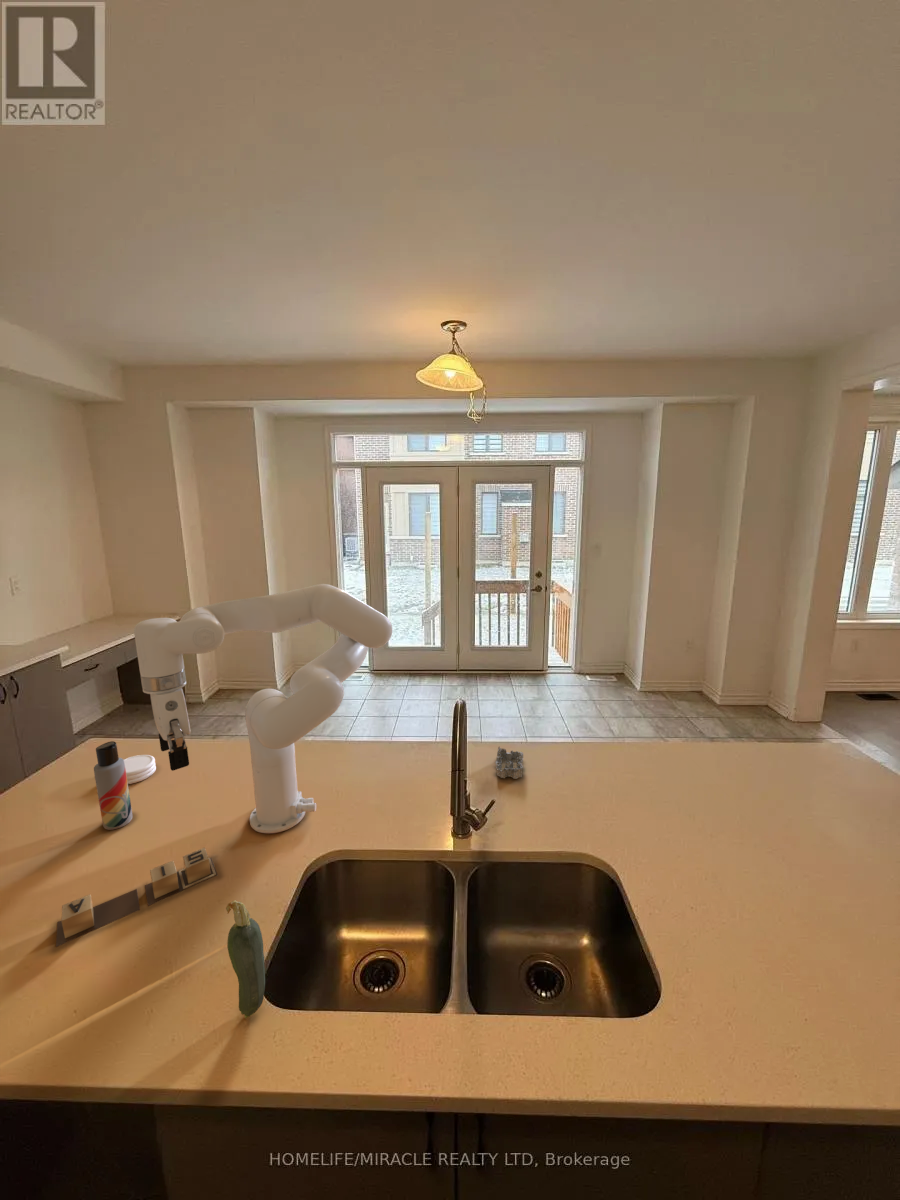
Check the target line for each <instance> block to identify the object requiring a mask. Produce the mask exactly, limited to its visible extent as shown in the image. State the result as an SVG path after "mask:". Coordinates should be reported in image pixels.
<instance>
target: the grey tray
mask: <svg viewBox="0 0 900 1200" xmlns="http://www.w3.org/2000/svg"><path fill="white" fill-rule="evenodd" d="M208 858H209V864H210V872H211V874H210V875H208V876H205V877H203V878H201V879H199V880H196V881H194V882H192V883H189V884H188V881H187V878H186V874H185V870H184V868H182V869H179V870H177V868H176V865H175V861H174V860H171V861H168V862H166V863H164V864H160V865H158V866H156V867H154V868H151V869H149V873H150V880H151V882H150V883H147V884H145V885H144V891H145V895H146V896H145V897H146V902H147V906H148V907H149V906H152V905H155V904H156V903H158V902H161V901H163V900H166V899H167V898H169V897H173V896H174V895H176V894H179V893H181V892H183V891H186V890H188V889H190V888H192V887H195V886H196V885H197V886H198V885H199V884H201V883H203V882H205V881H208V880H210V879H212V878H214V877H217V876H219V875H218V872H217V870H216V867H215V863H214V861H213V858H212V857H208Z"/></svg>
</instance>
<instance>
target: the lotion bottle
mask: <svg viewBox="0 0 900 1200" xmlns="http://www.w3.org/2000/svg"><path fill="white" fill-rule="evenodd" d="M95 753H96V759H97V763H96V764H95V765H94V766H93V774H94V781H95V785H96V793H97V798H98V803H99V809H100V816H101V822H102V826H103V828H104V829H105V830H108V831H109V830H110V831H113V830H117V829H121V828H123V827H125V826H126V825H128V824H129V823H130V822H132V820H133V808H132V802H131V797H130V790H129V789H130V788H129V784H128V782H127V776H126V769H125V763H124V758H122V757H119V752H118V745H117V742H116V741H112V740H111V741H107V742H104V743H102V744H100V745H98V746H97V747H96V748H95Z"/></svg>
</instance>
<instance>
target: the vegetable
mask: <svg viewBox="0 0 900 1200" xmlns="http://www.w3.org/2000/svg"><path fill="white" fill-rule="evenodd" d="M225 909H226V912H227V913H226V914H228V915H229V914H230V912H231V910H232V911H233V919H234V922H235V923H234V924H233V925H232V926H231V927H230V929H229V931H228V935H227V942H226V943H227V945H226V946H227V952H228V957H229V960H230V964H231V965H232V969H233V971H234V973H235V975H236V977H237V982H238V1010H239V1012H240V1014H241V1015H243V1016H244V1017H243V1018H244V1019H245V1020H246V1019H248V1018H249V1017H251V1016H253V1015H254V1014H255V1013H256V1012H257V1011H258V1010H259V1009H260V1008H261V1006H262V1004H263V1002H264V998H265V989H266V971H265V970H266V969H265V968H266V967H265V953H264V940H263V934H262V929H261V928H260V925H259V923H258V922H257V921H256V920H255V919H254V918H252V917H251V914H250V912H249V910H248V908H246V905H245V903H243V902H242V901H237V900H236V899H235V900H232V901H230V902H229V903H227V905H226V907H225Z"/></svg>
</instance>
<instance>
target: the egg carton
mask: <svg viewBox="0 0 900 1200" xmlns="http://www.w3.org/2000/svg"><path fill="white" fill-rule="evenodd" d="M495 767H496V771H497V772H496V776H497V777H499V778H500V779H506V778H508V777H510V778H513V779H515V780H517V779H519V778H522V775H523V767H524V752H522V751H518V750H516V751H513V750H510V752H507V749H506V748H501V747H500V746H498V747H497V752H496V758H495Z"/></svg>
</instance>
